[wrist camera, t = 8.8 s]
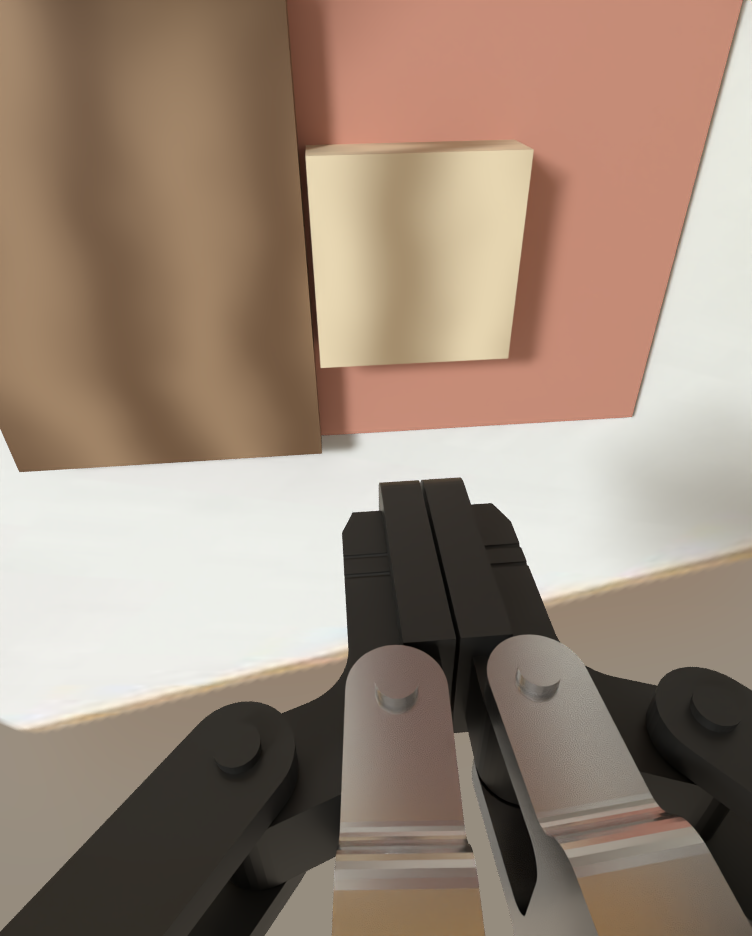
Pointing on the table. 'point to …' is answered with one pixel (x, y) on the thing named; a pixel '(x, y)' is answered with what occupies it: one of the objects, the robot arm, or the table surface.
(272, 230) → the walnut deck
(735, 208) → the table surface
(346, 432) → the terracotta mat
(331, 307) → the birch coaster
